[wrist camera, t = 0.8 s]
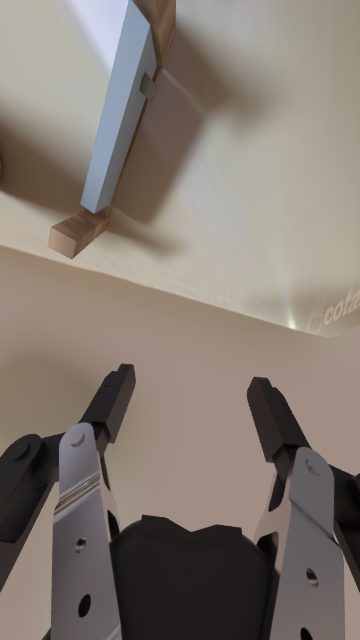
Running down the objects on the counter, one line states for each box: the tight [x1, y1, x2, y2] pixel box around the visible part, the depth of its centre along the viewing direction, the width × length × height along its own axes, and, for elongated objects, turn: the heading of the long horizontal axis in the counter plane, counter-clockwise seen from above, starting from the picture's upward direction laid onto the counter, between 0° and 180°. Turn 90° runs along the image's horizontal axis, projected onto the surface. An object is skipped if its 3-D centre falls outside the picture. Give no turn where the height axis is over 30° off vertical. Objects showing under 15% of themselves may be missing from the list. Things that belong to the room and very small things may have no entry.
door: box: [80, 0, 157, 213], centre depth 18 cm, size 3×14×6 cm, turn 144°
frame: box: [48, 0, 176, 259], centre depth 16 cm, size 2×21×12 cm, turn 144°
